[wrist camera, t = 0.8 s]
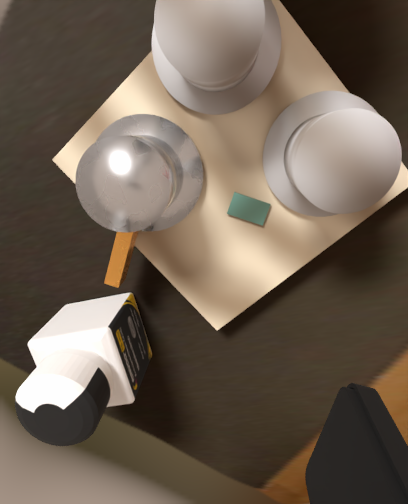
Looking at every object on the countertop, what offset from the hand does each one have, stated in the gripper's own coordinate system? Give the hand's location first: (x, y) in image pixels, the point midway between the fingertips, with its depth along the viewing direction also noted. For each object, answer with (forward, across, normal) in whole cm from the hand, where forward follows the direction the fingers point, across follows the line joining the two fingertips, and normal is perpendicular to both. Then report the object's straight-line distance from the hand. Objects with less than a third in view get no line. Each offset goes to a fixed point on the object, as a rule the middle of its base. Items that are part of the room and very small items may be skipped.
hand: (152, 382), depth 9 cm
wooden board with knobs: (+24, 0, -4) cm, 24 cm away
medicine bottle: (+24, +7, +14) cm, 29 cm away
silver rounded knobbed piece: (+21, +6, 0) cm, 22 cm away
